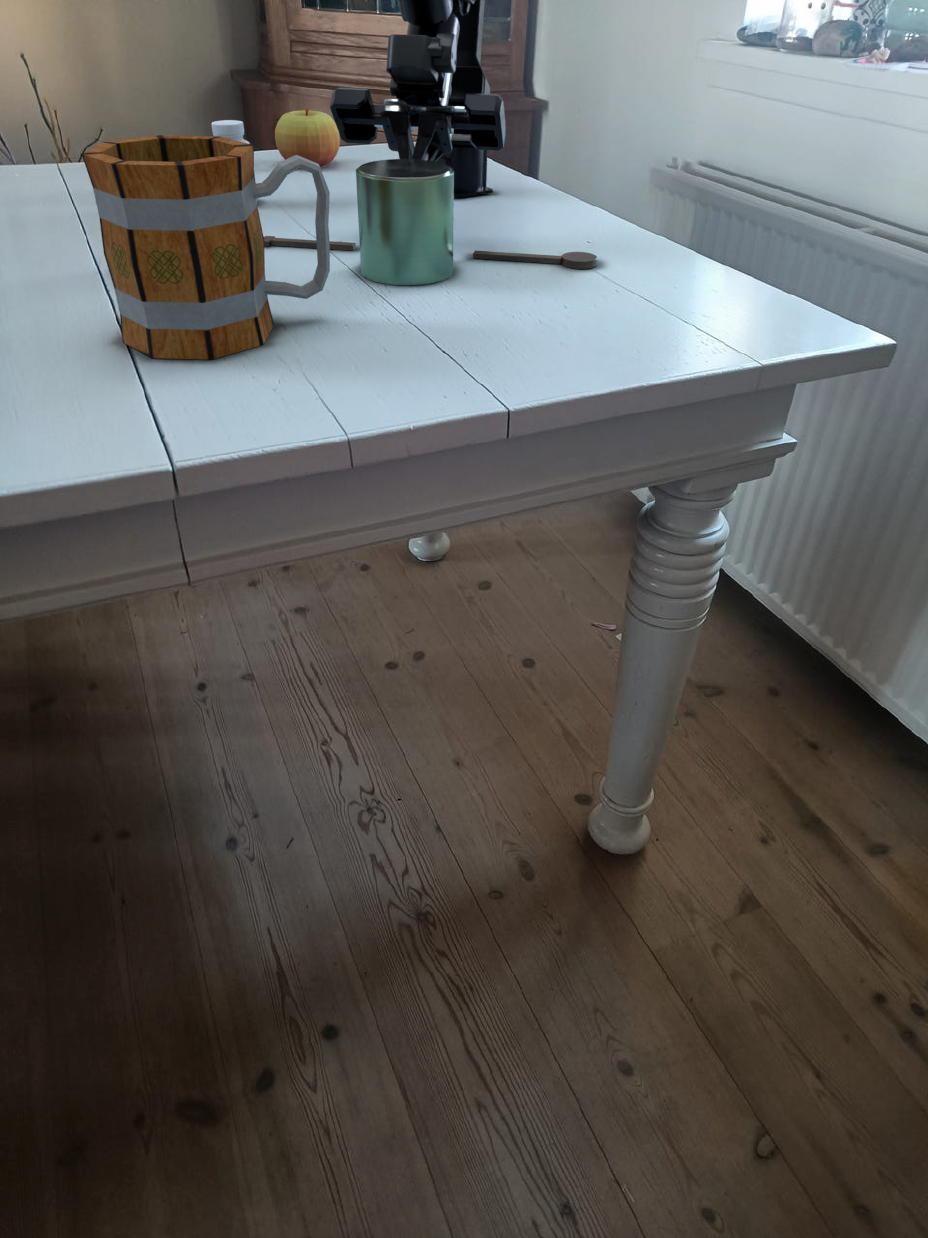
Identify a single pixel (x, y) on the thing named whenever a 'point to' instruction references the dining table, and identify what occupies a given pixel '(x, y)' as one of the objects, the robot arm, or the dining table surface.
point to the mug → (193, 242)
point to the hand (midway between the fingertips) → (407, 188)
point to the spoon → (543, 258)
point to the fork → (306, 243)
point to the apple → (308, 136)
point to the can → (405, 221)
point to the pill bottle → (230, 131)
